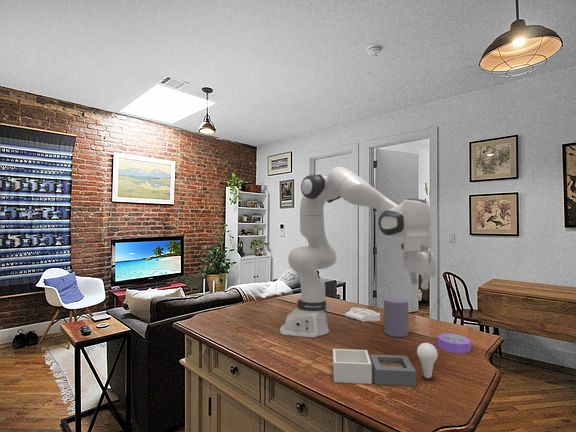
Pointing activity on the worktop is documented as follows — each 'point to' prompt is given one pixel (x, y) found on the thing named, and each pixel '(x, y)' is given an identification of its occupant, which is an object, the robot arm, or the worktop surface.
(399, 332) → the container
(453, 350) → the masking tape
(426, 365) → the lightbulb
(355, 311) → the white brass knuckles
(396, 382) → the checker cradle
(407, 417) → the worktop surface
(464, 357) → the worktop surface
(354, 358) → the bin
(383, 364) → the contact pad
